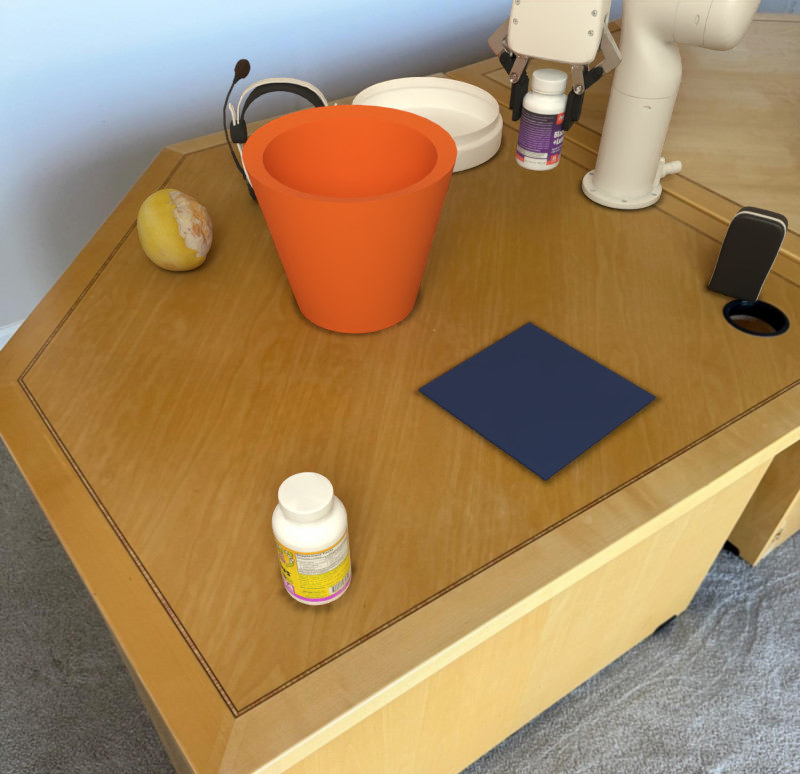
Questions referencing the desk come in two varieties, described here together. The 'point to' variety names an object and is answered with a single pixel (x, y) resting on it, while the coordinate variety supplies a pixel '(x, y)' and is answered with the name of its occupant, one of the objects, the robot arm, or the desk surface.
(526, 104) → the pill bottle
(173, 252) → the fruit
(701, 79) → the desk surface
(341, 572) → the supplement bottle
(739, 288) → the battery charger
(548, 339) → the mat
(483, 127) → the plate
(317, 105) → the headset
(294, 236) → the flowerpot
